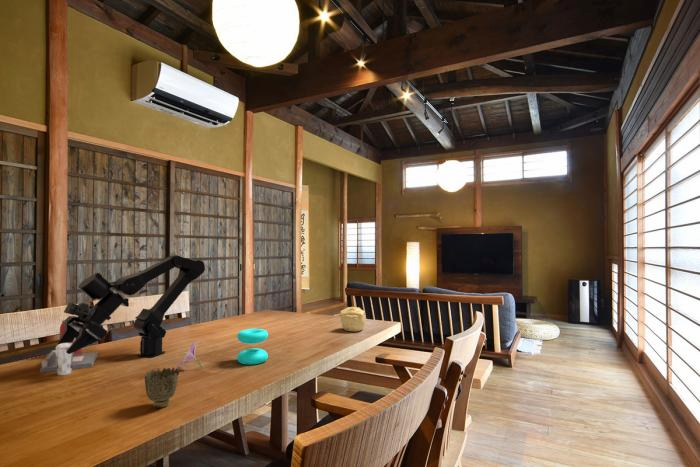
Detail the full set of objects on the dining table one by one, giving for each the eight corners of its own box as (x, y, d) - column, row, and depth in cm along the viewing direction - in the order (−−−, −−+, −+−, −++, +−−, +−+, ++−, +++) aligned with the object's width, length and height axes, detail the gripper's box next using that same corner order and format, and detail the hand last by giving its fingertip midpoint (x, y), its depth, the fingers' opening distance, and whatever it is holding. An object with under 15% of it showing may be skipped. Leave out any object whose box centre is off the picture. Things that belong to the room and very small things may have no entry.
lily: (198, 364, 130) (182, 340, 129) (223, 354, 126) (208, 329, 124) (173, 388, 119) (156, 361, 118) (200, 377, 114) (183, 350, 113)
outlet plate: (97, 355, 137) (97, 346, 137) (91, 367, 124) (91, 356, 124) (51, 360, 131) (51, 350, 131) (40, 372, 118) (40, 362, 118)
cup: (151, 400, 97) (152, 367, 97) (182, 399, 98) (183, 366, 98) (137, 412, 90) (138, 377, 90) (171, 411, 90) (172, 376, 90)
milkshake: (79, 371, 119) (80, 338, 120) (61, 376, 114) (63, 342, 115) (69, 369, 121) (70, 337, 121) (51, 375, 116) (52, 340, 116)
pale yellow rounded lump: (338, 332, 175) (338, 308, 176) (343, 327, 187) (343, 304, 187) (363, 333, 173) (363, 308, 174) (367, 328, 185) (367, 305, 185)
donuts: (231, 331, 131) (257, 326, 138) (231, 361, 130) (256, 355, 138) (248, 335, 124) (274, 330, 131) (247, 367, 123) (273, 361, 131)
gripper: (72, 290, 127) (28, 330, 118) (96, 294, 116) (49, 339, 107) (99, 312, 133) (59, 351, 124) (124, 318, 122) (82, 362, 113)
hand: (61, 350), depth 117 cm, fingers open, 9 cm apart
